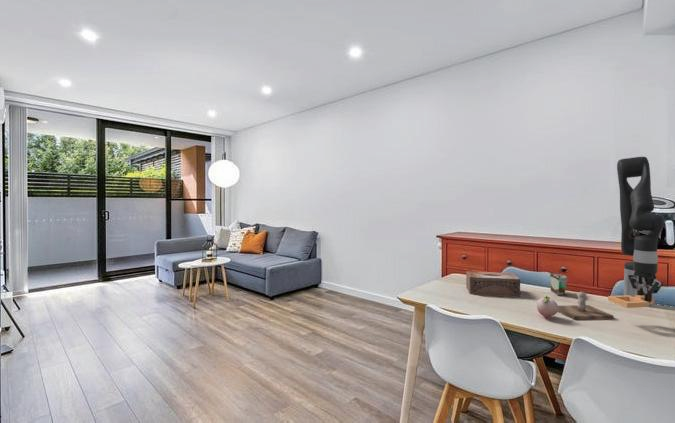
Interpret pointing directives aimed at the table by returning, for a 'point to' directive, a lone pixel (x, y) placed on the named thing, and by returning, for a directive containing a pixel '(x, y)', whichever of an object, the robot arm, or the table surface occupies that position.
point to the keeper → (583, 310)
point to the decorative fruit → (547, 307)
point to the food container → (558, 284)
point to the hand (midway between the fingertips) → (644, 300)
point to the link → (630, 301)
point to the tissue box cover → (493, 283)
